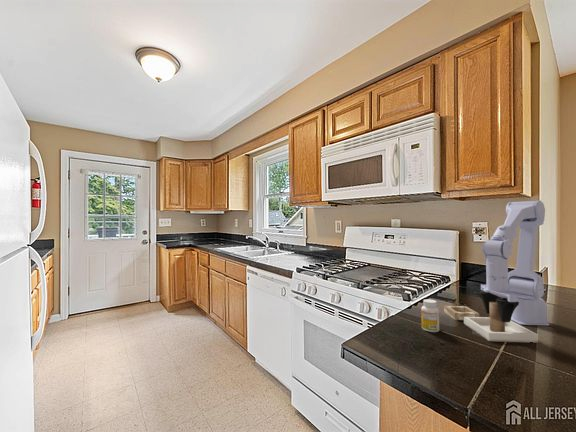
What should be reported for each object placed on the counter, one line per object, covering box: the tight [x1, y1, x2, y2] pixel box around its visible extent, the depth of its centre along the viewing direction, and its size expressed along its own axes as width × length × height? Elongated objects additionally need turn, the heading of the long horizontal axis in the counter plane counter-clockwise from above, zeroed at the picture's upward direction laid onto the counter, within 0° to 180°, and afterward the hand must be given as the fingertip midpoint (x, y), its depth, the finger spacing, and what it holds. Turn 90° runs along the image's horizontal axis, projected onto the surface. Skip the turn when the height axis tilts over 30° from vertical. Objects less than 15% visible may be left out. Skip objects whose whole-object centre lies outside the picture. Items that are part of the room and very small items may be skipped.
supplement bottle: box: [420, 298, 440, 333], centre depth 93 cm, size 5×5×10 cm
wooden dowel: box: [489, 302, 505, 332], centre depth 90 cm, size 4×4×9 cm
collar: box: [443, 305, 480, 321], centre depth 105 cm, size 8×8×2 cm
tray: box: [463, 316, 539, 344], centre depth 90 cm, size 14×14×2 cm
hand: (497, 317), depth 90 cm, fingers open, 7 cm apart
